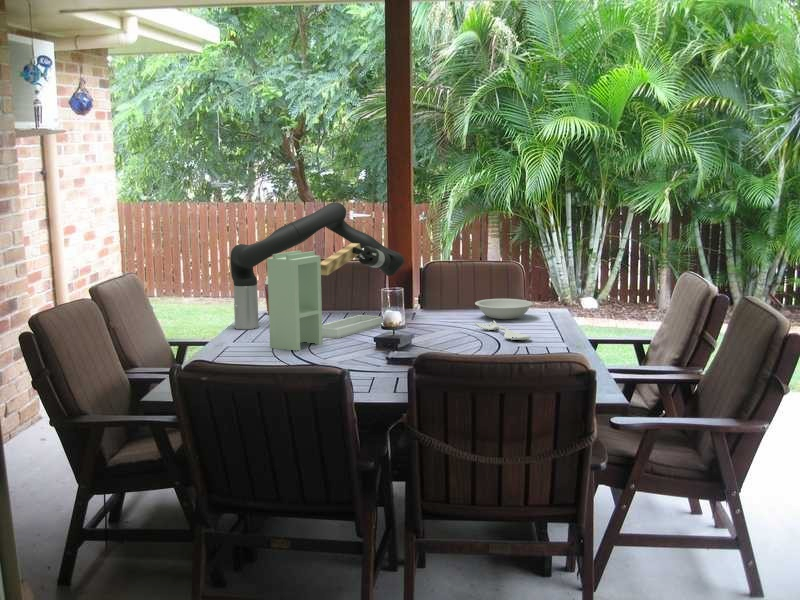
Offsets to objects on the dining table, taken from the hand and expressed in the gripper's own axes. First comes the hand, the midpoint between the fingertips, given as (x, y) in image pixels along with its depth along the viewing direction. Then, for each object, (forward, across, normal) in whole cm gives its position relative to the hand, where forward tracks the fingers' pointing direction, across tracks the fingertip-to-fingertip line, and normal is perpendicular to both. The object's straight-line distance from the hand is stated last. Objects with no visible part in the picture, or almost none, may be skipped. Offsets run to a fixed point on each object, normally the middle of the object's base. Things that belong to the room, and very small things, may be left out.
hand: (348, 249), depth 347 cm
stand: (+23, -2, +39) cm, 46 cm away
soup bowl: (-59, +42, +17) cm, 74 cm away
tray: (-9, -1, +30) cm, 32 cm away
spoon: (-27, +56, +26) cm, 68 cm away
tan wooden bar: (+4, 0, +6) cm, 7 cm away
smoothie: (-26, -51, +26) cm, 63 cm away
